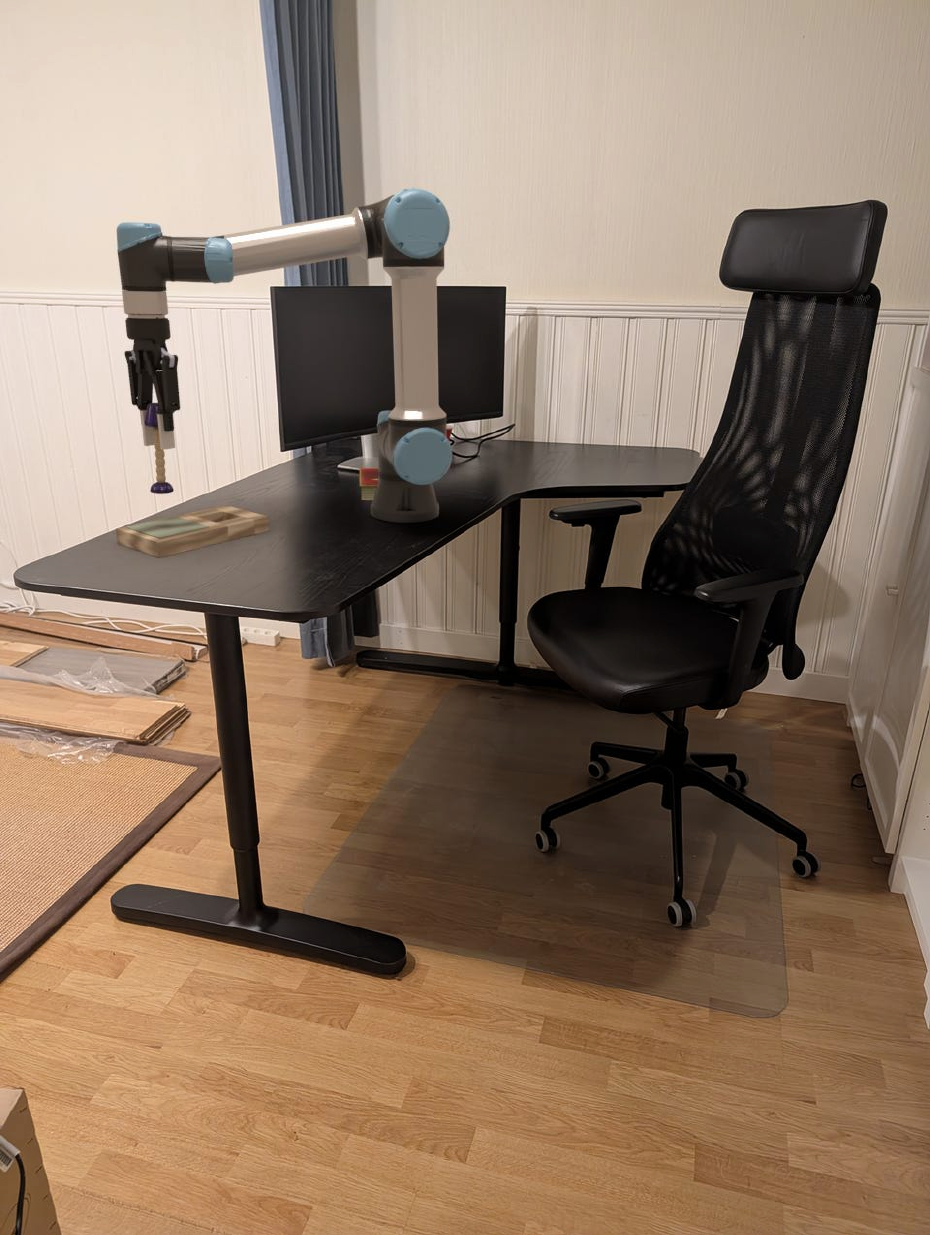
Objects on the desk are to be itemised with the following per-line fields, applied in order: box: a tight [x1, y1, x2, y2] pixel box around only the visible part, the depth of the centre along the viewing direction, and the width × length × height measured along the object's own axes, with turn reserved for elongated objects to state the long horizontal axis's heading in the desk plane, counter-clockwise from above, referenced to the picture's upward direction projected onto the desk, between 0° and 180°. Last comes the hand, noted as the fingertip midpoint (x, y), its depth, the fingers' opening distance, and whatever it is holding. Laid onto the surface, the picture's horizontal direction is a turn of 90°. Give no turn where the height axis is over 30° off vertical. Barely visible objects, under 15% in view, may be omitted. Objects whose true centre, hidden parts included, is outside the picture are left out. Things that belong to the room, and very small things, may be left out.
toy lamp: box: [145, 402, 175, 495], centre depth 169 cm, size 5×5×17 cm
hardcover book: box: [359, 467, 378, 501], centre depth 222 cm, size 12×21×4 cm, turn 6°
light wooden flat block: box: [115, 505, 270, 559], centre depth 180 cm, size 14×26×3 cm, turn 141°
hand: (159, 446), depth 169 cm, fingers closed on toy lamp, 5 cm apart
